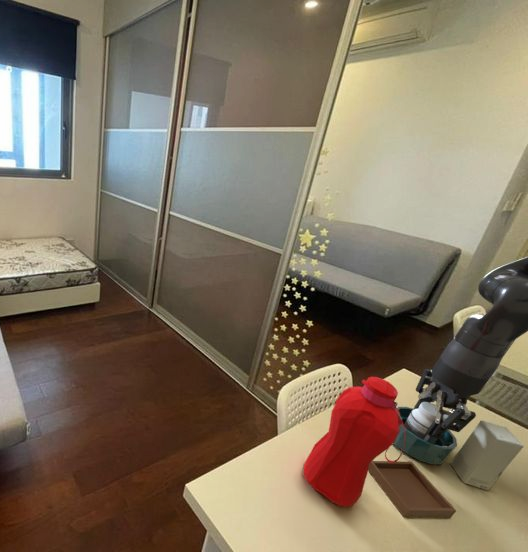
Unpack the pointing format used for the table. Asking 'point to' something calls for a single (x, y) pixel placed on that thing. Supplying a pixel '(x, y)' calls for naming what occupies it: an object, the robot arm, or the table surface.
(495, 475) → the box
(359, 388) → the water bottle
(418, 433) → the pill bottle
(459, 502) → the table surface
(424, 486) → the tray
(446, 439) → the bowl
